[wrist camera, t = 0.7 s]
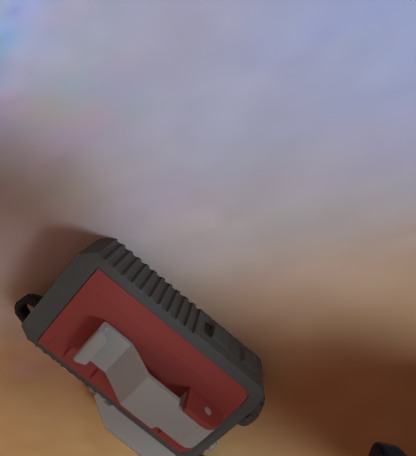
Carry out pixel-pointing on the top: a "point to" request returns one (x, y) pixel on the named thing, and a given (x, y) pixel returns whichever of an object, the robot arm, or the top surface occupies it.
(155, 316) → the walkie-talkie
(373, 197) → the top surface
